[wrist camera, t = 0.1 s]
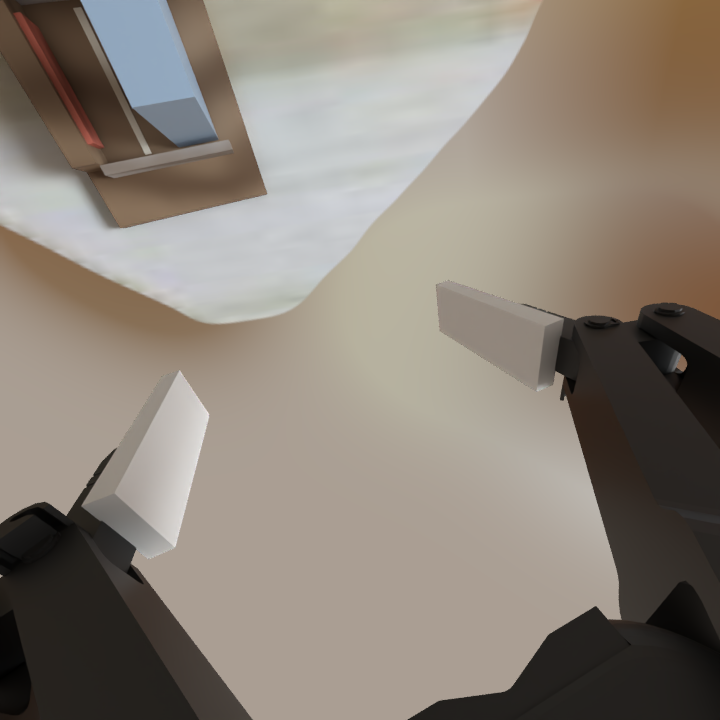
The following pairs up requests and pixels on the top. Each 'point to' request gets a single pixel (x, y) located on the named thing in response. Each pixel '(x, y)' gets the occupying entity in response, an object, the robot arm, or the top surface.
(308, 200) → the top surface
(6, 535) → the robot arm
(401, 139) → the top surface
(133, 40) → the blue-grey rectangular block
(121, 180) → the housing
